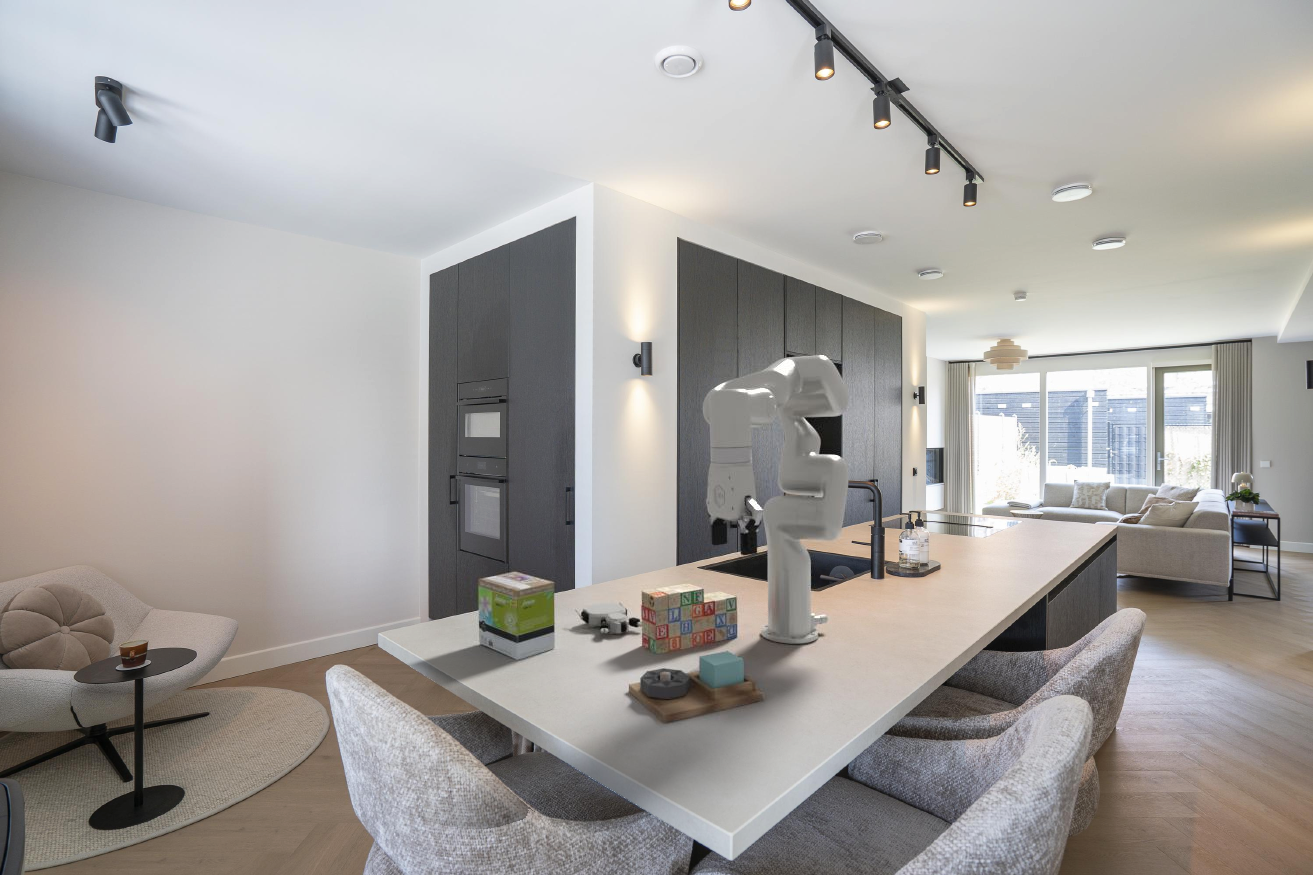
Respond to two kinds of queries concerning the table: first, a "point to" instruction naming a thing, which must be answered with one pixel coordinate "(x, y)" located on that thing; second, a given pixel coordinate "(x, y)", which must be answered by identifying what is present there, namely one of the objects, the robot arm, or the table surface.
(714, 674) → the teal nearly cubic block
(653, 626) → the stack of blocks
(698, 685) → the chassis
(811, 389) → the robot arm
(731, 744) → the table surface
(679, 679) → the wheel
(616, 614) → the robot toy
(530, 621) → the tea box
